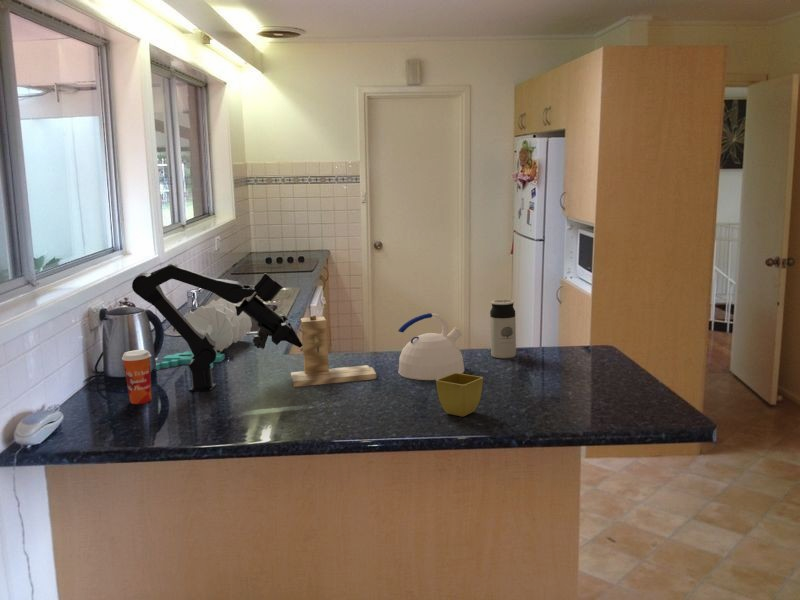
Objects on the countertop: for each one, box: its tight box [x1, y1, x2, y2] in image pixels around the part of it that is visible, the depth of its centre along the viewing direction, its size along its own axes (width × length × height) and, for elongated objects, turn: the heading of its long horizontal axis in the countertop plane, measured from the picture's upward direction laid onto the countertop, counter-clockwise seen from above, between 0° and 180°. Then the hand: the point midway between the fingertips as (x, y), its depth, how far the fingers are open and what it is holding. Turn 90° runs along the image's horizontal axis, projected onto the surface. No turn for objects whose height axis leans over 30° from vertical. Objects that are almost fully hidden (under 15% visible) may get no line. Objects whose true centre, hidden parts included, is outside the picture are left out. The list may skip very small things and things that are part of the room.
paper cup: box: [121, 349, 152, 405], centre depth 206 cm, size 8×8×14 cm
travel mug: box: [489, 298, 517, 359], centre depth 238 cm, size 8×8×18 cm
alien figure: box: [155, 350, 226, 371], centre depth 250 cm, size 20×2×20 cm
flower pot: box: [435, 373, 484, 417], centre depth 185 cm, size 9×9×9 cm
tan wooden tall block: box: [300, 314, 330, 374], centre depth 217 cm, size 7×16×18 cm, turn 12°
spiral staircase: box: [185, 297, 253, 353], centre depth 269 cm, size 18×18×25 cm
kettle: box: [397, 312, 465, 381], centre depth 224 cm, size 20×21×18 cm
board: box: [290, 364, 377, 388], centre depth 221 cm, size 24×16×2 cm, turn 102°
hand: (301, 346), depth 221 cm, fingers closed
